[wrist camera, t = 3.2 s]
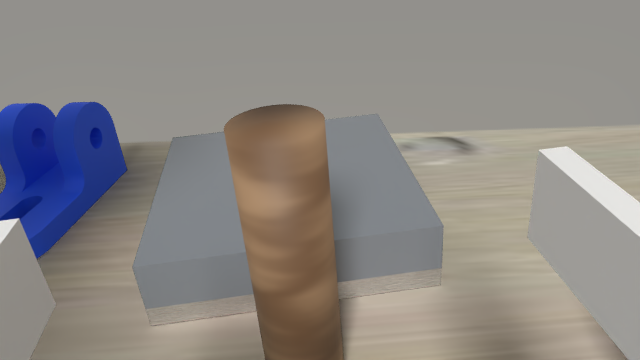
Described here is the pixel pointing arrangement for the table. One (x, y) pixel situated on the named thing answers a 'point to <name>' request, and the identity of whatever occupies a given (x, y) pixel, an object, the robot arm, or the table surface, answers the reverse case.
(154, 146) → the table surface
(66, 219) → the bracket
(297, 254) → the walnut dowel
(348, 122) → the socket block
